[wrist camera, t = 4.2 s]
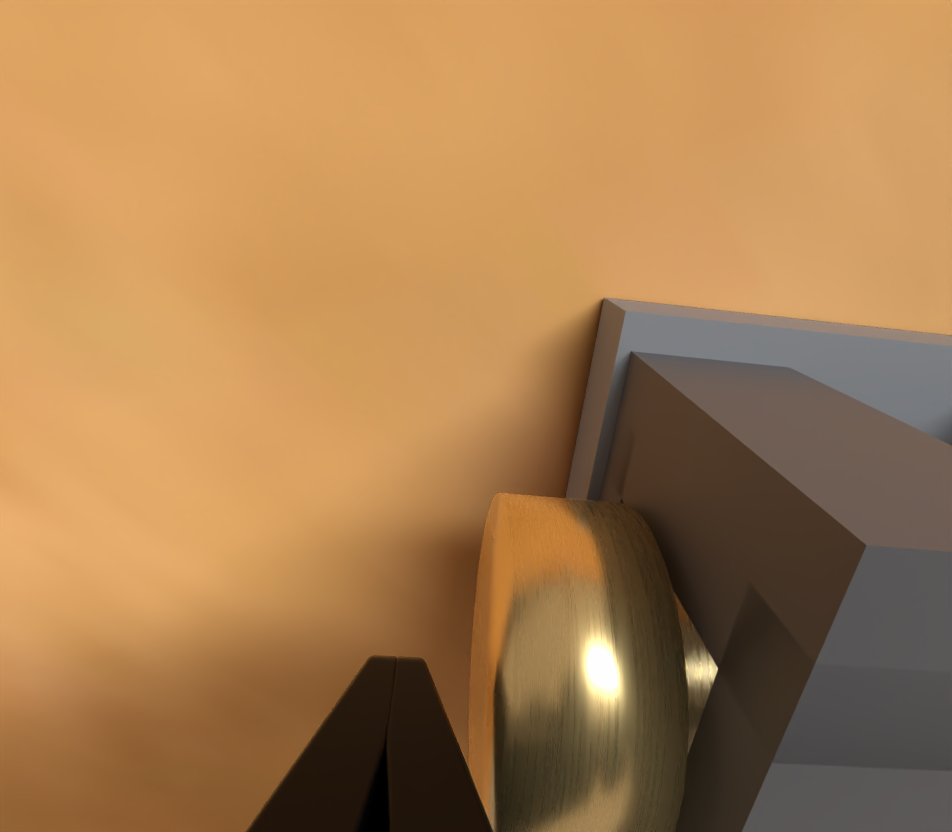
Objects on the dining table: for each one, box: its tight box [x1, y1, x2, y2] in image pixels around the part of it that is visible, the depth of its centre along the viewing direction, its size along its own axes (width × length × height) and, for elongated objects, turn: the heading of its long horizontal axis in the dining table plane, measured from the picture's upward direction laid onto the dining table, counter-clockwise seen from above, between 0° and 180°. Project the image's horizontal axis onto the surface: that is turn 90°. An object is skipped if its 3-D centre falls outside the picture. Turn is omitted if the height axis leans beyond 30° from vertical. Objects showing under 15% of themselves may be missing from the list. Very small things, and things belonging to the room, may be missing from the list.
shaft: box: [469, 493, 718, 832], centre depth 9 cm, size 15×5×5 cm, turn 84°
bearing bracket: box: [565, 298, 952, 832], centre depth 10 cm, size 12×10×8 cm
